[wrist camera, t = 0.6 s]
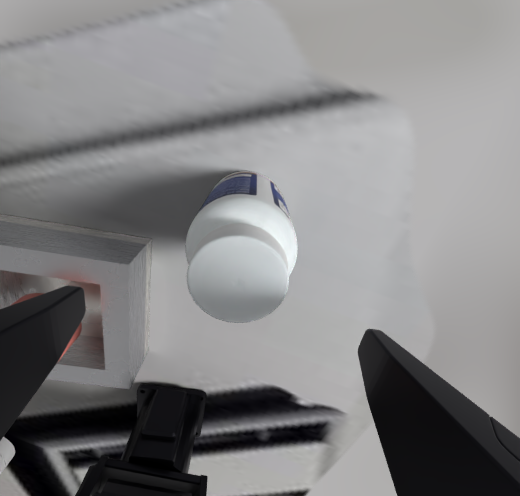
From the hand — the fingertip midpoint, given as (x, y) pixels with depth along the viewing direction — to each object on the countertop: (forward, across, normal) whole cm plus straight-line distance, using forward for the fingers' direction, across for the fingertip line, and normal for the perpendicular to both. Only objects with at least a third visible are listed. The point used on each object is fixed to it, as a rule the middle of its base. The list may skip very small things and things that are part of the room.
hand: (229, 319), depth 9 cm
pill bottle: (+12, 0, 0) cm, 12 cm away
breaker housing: (+12, +12, +9) cm, 19 cm away
